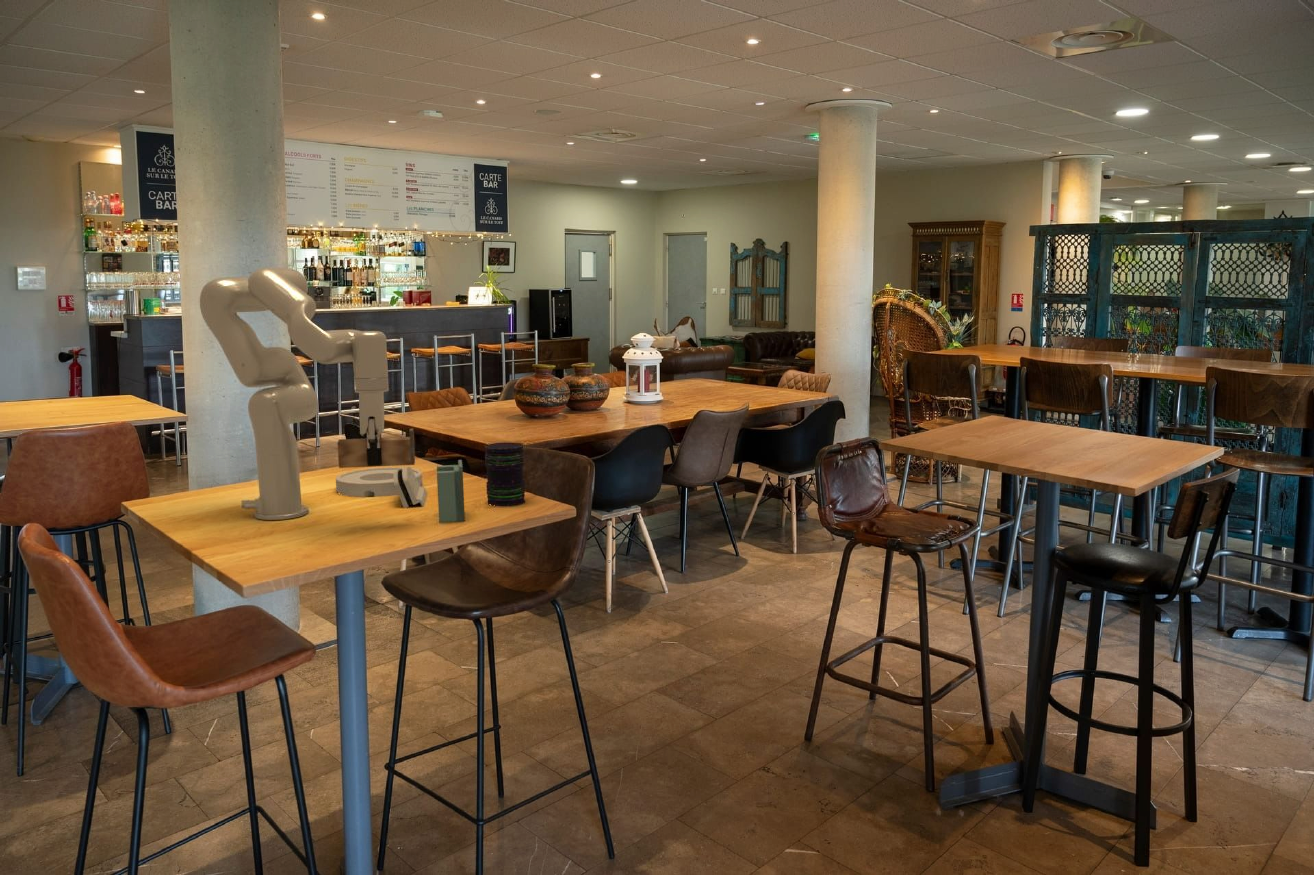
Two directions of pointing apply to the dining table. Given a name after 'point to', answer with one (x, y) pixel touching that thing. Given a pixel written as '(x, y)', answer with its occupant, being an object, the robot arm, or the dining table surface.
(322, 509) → the dining table surface
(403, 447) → the brown wooden block
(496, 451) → the storage jar
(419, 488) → the grey layered block
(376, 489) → the ashtray
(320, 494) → the dining table surface
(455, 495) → the u-shaped channel piece
